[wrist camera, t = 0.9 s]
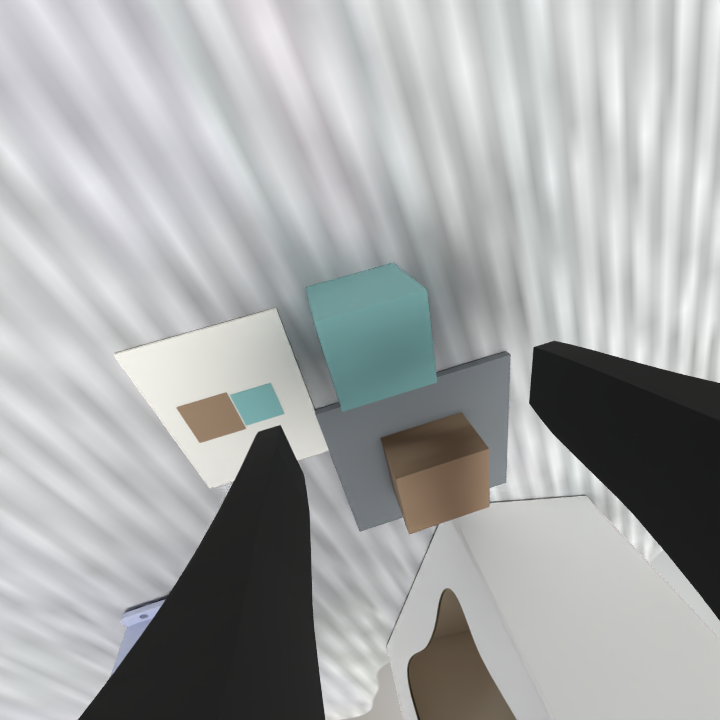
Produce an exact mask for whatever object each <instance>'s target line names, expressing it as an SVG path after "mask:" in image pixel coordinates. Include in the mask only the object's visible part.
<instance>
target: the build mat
mask: <svg viewBox="0 0 720 720" xmlns="http://www.w3.org/2000/svg"><path fill="white" fill-rule="evenodd" d="M436 375H437V383H434V384H431V385H428V386H424V387H421V388H418V389H415V390H411V391H408V392H405V393H402V394H398V395H395V396H392V397H389V398H386V399H382V400H379V401H376V402H373V403H369V404H366V405H363V406H360V407H357V408H353V409H350V410H347V411H344V412H342V409H341V406H340V403H336V404H333V405H330V406H327V407H323V408H320V409H317V410H315V415H316V418H317V420H318V423H319V426H320V428H321V431H322V433H323V436H324V439H325V441H326V444H327V447H328V449H329V452H330V455H331V457H332V460H333V462H334V465H335V468H336V470H337V473H338V476H339V478H340V481H341V484H342V486H343V489H344V491H345V494H346V497H347V499H348V502H349V505H350V507H351V510H352V512H353V515H354V518H355V520H356V523H357V526H358V528H359V531H363V530H366V529H369V528H372V527H375V526H378V525H381V524H384V523H387V522H390V521H393V520H396V519H399V518H402V517H403V516H402V513H401V510H400V507H399V504H398V502H397V499H396V496H395V493H394V490H393V486H392V482H391V478H390V474H389V470H388V466H387V462H386V458H385V454H384V450H383V446H382V442H381V438H382V437H385V436H388V435H391V434H394V433H397V432H400V431H404V430H407V429H410V428H413V427H416V426H419V425H423V424H426V423H429V422H432V421H435V420H438V419H441V418H445V417H448V416H451V415H454V414H457V413H460V412H462V413H463V415H464V416H465V417H466V419H467V420H468V421H469V423H470V424H471V425H472V427H473V428H474V429H475V431H476V432H477V433H478V434H479V436H480V437H481V438H482V440H483V441H484V442H485V444H486V445H487V446H488V448H489V488H491V487H494V486H497V485H500V484H503V483H506V470H507V441H508V411H509V382H510V354H509V353H508V352H502V353H499V354H496V355H493V356H489V357H486V358H483V359H480V360H476V361H473V362H470V363H467V364H463V365H460V366H457V367H454V368H450V369H447V370H444V371H441V372H437V373H436Z"/></svg>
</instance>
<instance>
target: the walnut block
mask: <svg viewBox="0 0 720 720" xmlns="http://www.w3.org/2000/svg"><path fill="white" fill-rule="evenodd" d="M381 442H382V446H383V450H384V454H385V458H386V462H387V466H388V470H389V474H390V478H391V482H392V486H393V490H394V493H395V496H396V499H397V502H398V504H399V507H400V510H401V513H402V516H403V518H404V521H405V524H406V527H407V530H408V532H409V534H412V533H415V532H418V531H421V530H423V529H426V528H429V527H432V526H435V525H438V524H441V523H444V522H447V521H450V520H453V519H456V518H459V517H462V516H465V515H467V514H470V513H473V512H476V511H479V510H482V509H485V508H488V507H490V491H489V448H488V446H487V445H486V444H485V442H484V441H483V440H482V438H481V437H480V436H479V434H478V433H477V432H476V431H475V429H474V428H473V427H472V425H471V424H470V423H469V421H468V420H467V419H466V417H465V416H464V415H463V413H462V412H460V413H457V414H454V415H451V416H448V417H445V418H441V419H438V420H435V421H432V422H429V423H426V424H423V425H419V426H416V427H413V428H410V429H407V430H404V431H400V432H397V433H394V434H391V435H388V436H385V437H382V438H381Z"/></svg>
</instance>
